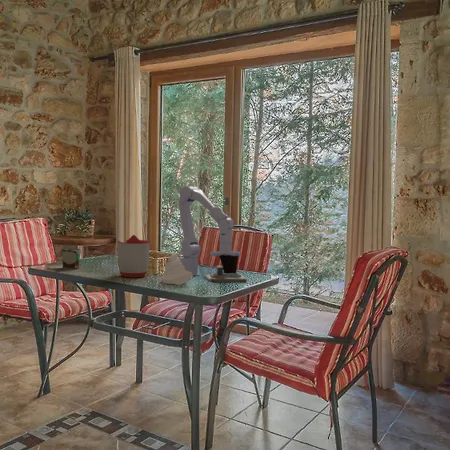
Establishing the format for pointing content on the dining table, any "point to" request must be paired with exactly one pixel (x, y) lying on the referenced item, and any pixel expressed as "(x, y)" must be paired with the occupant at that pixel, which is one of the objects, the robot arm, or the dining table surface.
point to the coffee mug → (232, 264)
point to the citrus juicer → (133, 257)
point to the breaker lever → (219, 270)
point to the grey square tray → (228, 280)
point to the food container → (70, 257)
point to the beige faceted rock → (175, 272)
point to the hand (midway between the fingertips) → (224, 270)
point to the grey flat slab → (225, 276)
